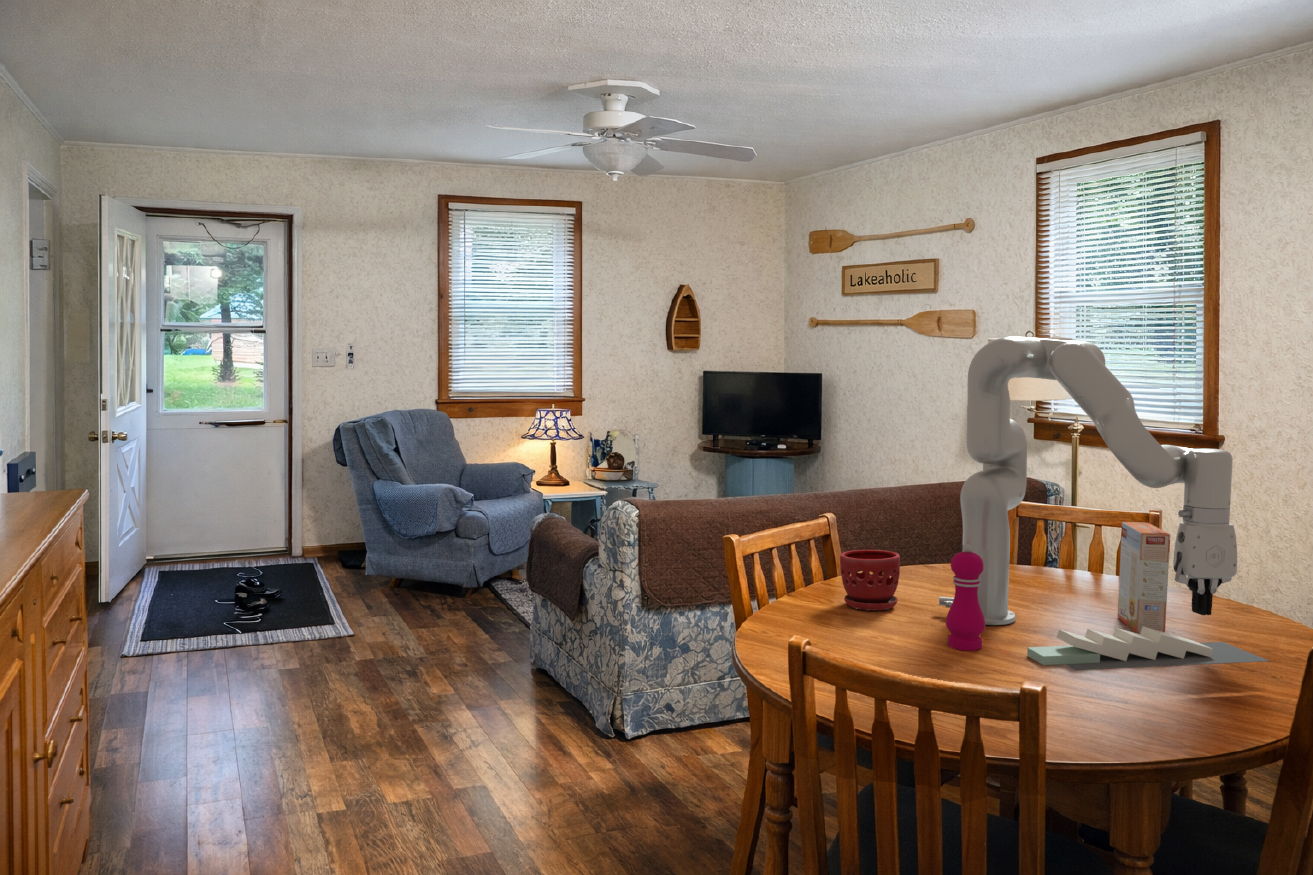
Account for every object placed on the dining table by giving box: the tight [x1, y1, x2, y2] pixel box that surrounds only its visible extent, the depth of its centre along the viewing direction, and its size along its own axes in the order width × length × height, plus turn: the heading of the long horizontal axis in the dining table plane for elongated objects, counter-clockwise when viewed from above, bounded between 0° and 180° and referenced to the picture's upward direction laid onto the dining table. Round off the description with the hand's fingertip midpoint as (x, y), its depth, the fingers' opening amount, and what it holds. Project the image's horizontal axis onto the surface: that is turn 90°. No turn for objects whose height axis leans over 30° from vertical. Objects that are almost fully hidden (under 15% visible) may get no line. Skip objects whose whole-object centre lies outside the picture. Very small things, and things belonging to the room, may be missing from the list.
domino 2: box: [1084, 628, 1158, 660], centre depth 180 cm, size 2×6×11 cm
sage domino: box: [1026, 645, 1100, 666], centre depth 179 cm, size 2×6×11 cm
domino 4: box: [1139, 626, 1213, 657], centre depth 182 cm, size 2×6×11 cm
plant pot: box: [839, 549, 901, 612], centre depth 218 cm, size 13×13×12 cm
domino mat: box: [1064, 641, 1270, 671], centre depth 181 cm, size 38×12×1 cm, turn 98°
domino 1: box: [1056, 629, 1129, 661], centre depth 179 cm, size 2×6×11 cm
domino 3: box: [1112, 627, 1186, 659], centre depth 181 cm, size 2×6×11 cm
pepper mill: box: [945, 544, 986, 652], centre depth 188 cm, size 7×7×20 cm
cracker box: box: [1117, 521, 1171, 634], centre depth 201 cm, size 14×6×21 cm, turn 168°
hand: (1201, 613), depth 182 cm, fingers closed
